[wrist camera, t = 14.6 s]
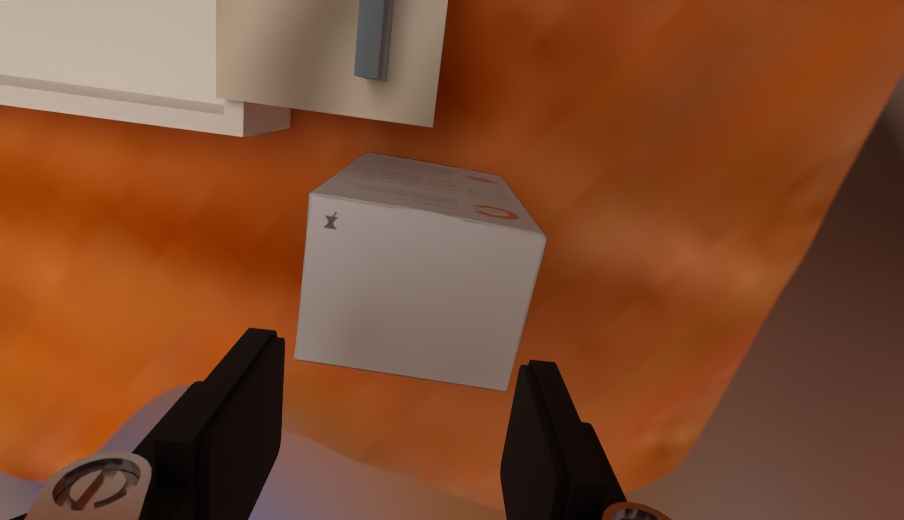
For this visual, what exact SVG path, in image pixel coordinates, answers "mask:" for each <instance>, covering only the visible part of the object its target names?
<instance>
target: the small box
mask: <svg viewBox="0 0 904 520" xmlns="http://www.w3.org/2000/svg"><path fill="white" fill-rule="evenodd" d="M546 241H547V236H546V235H545V234H544V233H543V231H542V230H541V229H540V228H539V226H538V225H537V224H536V223H535V221H534V220H533V219H532V217H531V216H530V214H529V213H528V212H527V210H526V209H525V208H524V206H523V205H522V204H521V202H520V201H519V200H518V198H517V197H516V196H515V194H514V193H513V192H512V190H511V189H510V188H509V186H508V185H507V184H506V183H505V181H504V180H503V178H502V177H501V176H497V175H492V174H487V173H482V172H477V171H472V170H466V169H461V168H456V167H450V166H445V165H439V164H434V163H428V162H423V161H417V160H412V159H406V158H401V157H395V156H389V155H384V154H377V153H371V152H365V153H364V154H363V155H361V156H360V157H359V158H357V159H356V160H354V161H353V162H352V163H350V164H349V165H348V166H346V167H345V168H344V169H342V170H341V171H339V172H338V173H337V174H335V175H334V176H333V177H331V178H330V179H329V180H327V181H326V182H324V183H323V184H322V185H320V186H319V187H318V188H316V189H315V190H313V191H312V192H311V193H310V194H309V204H308V219H307V231H306V242H305V253H304V265H303V276H302V287H301V298H300V309H299V318H298V327H297V337H296V347H295V354H294V359H295V360H298V361H305V362H311V363H318V364H325V365H332V366H338V367H345V368H351V369H358V370H364V371H371V372H378V373H385V374H392V375H398V376H404V377H411V378H417V379H423V380H430V381H437V382H444V383H451V384H458V385H464V386H470V387H477V388H483V389H490V390H497V391H502V392H505V391H506V390H507V388H508V384H509V380H510V377H511V373H512V369H513V365H514V361H515V358H516V354H517V350H518V346H519V343H520V339H521V335H522V332H523V328H524V324H525V320H526V316H527V313H528V309H529V305H530V301H531V297H532V294H533V290H534V286H535V282H536V279H537V275H538V271H539V268H540V264H541V260H542V256H543V253H544V249H545V245H546Z"/></svg>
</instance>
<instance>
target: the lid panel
mask: <svg viewBox="0 0 904 520" xmlns="http://www.w3.org/2000/svg"><path fill="white" fill-rule="evenodd" d="M447 6H448V0H216V98H221V99H229V100H236V101H243V102H250V103H258V104H265V105H272V106H279V107H287V108H294V109H301V110H308V111H316V112H323V113H330V114H337V115H345V116H352V117H359V118H367V119H374V120H381V121H388V122H396V123H403V124H410V125H417V126H425V127H432V128H433V123H434V114H435V106H436V98H437V89H438V81H439V73H440V64H441V56H442V48H443V39H444V31H445V23H446V14H447Z"/></svg>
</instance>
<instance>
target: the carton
mask: <svg viewBox="0 0 904 520" xmlns="http://www.w3.org/2000/svg"><path fill="white" fill-rule="evenodd" d="M0 105H7V106H15V107H22V108H29V109H37V110H44V111H52V112H59V113H67V114H74V115H82V116H89V117H97V118H104V119H112V120H119V121H126V122H134V123H141V124H149V125H156V126H164V127H171V128H179V129H186V130H194V131H201V132H209V133H216V134H224V135H231V136H238V137H246V136H252V137H257V136H262V135H267V134H272V132H273V131H278V130H283V129H289V128H290V116H291V108H287V107H279V106H272V105H265V104H258V103H250V102H243V101H236V100H229V99H221V98H216V0H0Z"/></svg>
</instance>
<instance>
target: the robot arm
mask: <svg viewBox="0 0 904 520" xmlns="http://www.w3.org/2000/svg"><path fill="white" fill-rule="evenodd" d="M284 357H285V339H284V338H279V337H277V332H276V331H274V330H265V329H256V328H249V329H248V330H247V331H246V332H245V333H244V334H243V335H242V337H241V338H240V339H239V340H238V341H237V343H236V344H235V345H234V346H233V347H232V348H231V350H230V351H229V352H228V353H227V354H226V356H225V357H224V358H223V359H222V360H221V361H220V363H219V364H218V365H217V366H216V367H215V368H214V370H213V371H212V372H211V373H210V374H209V376H208V377H207V378H206V379H205V380H204V381H197V382H194V383H193V384H192V385H191V386H190V387H189V388H188V389H187V391H186V392H185V393H184V394H183V395H182V396H181V397H180V398H179V400H178V401H177V402H176V403H175V404H174V406H172V408H171V409H170V410H169V411H168V412H167V413H166V414H165V415H164V417H163V418H162V419H161V420H160V421H159V422H158V423H157V425H156V426H155V427H154V428H153V429H152V430H151V431H150V433H149V434H148V435H147V436H146V437H145V438H144V439H143V440H142V442H141V443H140V444H139V445H138V446H137V448H136V449H135V450H134V451H133V452H132V453H128V452H109V453H102V454H96V455H92V456H89V457H86V458H83V459H80V460H77V461H76V462H74V463H72V464H70V465H68V466H66V467H64V468H62V469H61V470H59V471H58V472H57V473H56V474H54V475H53V476H52V477H50V478H49V480H48V481H47V482H46V483H45V485H44V486H43V487H42V489H41V490H40V492H39V494H38V496H37V498H36V499H35V501H34V503H33V505H32V507H31V508H30V510H29V512H28V513H26V514H23V515H21V516H18V517H16V518H13V519H10V520H248V518H249V517H250V514H251V512H252V510H253V508H254V506H255V504H256V501H257V499H258V497H259V495H260V493H261V491H262V488H263V486H264V484H265V482H266V480H267V478H268V475H269V473H270V471H271V469H272V467H273V465H274V462H275V460H276V458H277V456H278V452H279V448H280V443H281V427H282V404H283V380H284ZM500 477H501V485H502V492H503V498H504V505H505V511H506V517H507V520H671V519H670V518H669V517H667V516H666V515H664V514H663V513H661V512H659V511H658V510H656V509H653V508H651V507H648V506H646V505H644V504H639V503H634V502H627V500H626V498H625V496H624V494H623V492H622V489H621V487H620V485H619V483H618V481H617V479H616V476H615V474H614V472H613V470H612V468H611V465H610V463H609V461H608V459H607V457H606V455H605V452H604V450H603V448H602V446H601V444H600V441H599V439H598V437H597V435H596V433H595V431H594V428H593V427H592V425H591V424H589V423H586V422H581V421H580V418H579V416H578V414H577V411H576V409H575V407H574V404H573V402H572V400H571V397H570V395H569V393H568V390H567V388H566V386H565V383H564V381H563V379H562V376H561V374H560V372H559V369H558V367H557V365H556V363H555V362H547V361H538V360H530V361H529V364H528V366H527V365H521V366H520V369H519V373H518V379H517V384H516V389H515V394H514V399H513V404H512V409H511V415H510V420H509V425H508V430H507V435H506V440H505V445H504V450H503V456H502V461H501V470H500Z"/></svg>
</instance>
